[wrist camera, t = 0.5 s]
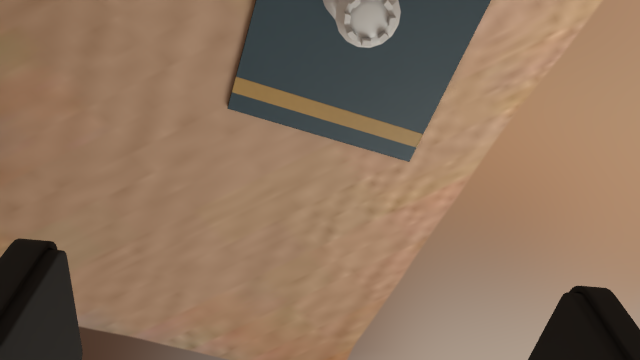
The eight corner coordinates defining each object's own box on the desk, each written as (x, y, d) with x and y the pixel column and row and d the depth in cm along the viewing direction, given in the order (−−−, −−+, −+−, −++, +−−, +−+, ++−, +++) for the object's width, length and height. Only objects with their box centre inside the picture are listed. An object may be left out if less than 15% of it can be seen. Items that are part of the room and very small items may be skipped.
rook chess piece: (372, -70, 29) (392, -48, 23) (403, -1, 32) (430, 38, 25) (306, -30, 30) (306, 2, 24) (340, 34, 33) (350, 80, 26)
